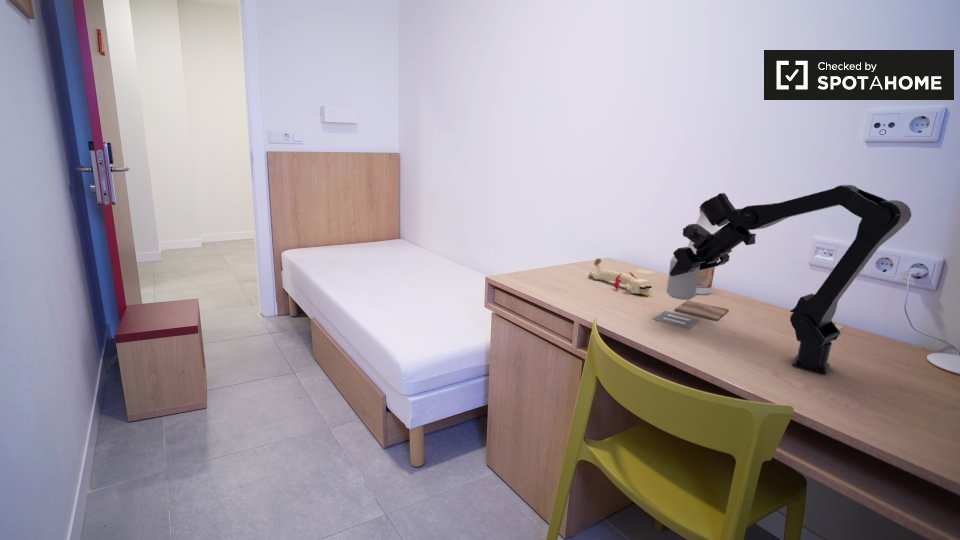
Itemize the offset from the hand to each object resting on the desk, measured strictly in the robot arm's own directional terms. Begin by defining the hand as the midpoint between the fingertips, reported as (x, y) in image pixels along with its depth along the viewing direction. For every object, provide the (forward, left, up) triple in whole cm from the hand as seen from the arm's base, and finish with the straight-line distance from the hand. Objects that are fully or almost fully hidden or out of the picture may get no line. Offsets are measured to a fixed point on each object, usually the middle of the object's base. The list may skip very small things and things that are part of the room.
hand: (679, 273), depth 136 cm
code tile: (0, -1, -13) cm, 13 cm away
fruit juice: (+34, +4, -13) cm, 36 cm away
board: (+13, -4, -13) cm, 19 cm away
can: (0, -1, -7) cm, 7 cm away
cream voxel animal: (+19, +24, -14) cm, 34 cm away
